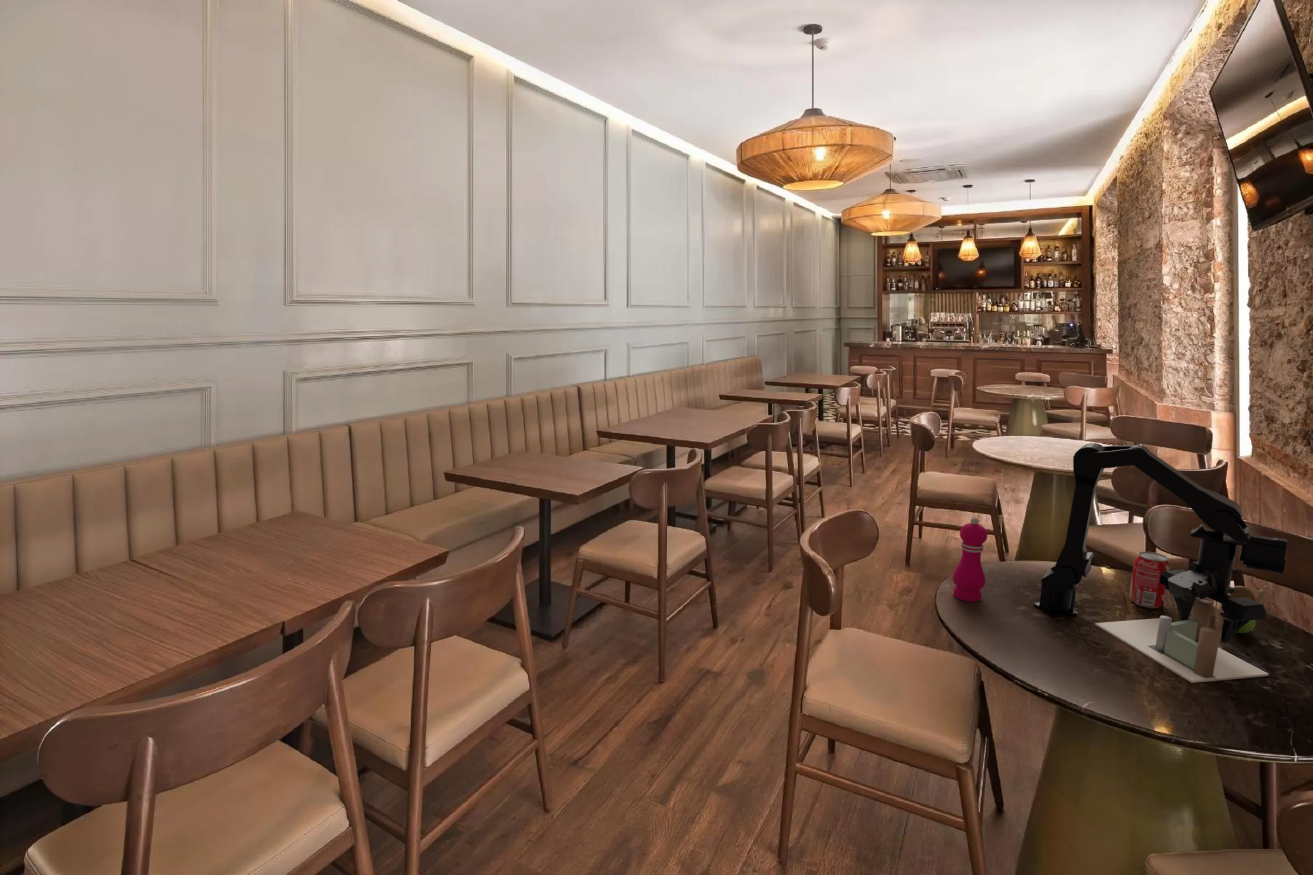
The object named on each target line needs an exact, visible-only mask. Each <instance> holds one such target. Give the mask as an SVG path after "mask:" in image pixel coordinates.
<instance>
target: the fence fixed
mask: <svg viewBox="0 0 1313 875" xmlns="http://www.w3.org/2000/svg"><path fill="white" fill-rule="evenodd" d="M1159 618H1160V620H1159V626H1158V633H1157V639H1156V645H1155V648H1156V649H1157V650H1160V651H1164V653H1166V654H1168V655H1170V656H1171V657H1173V658H1175V659H1176V660H1178V661H1180V662H1182V663H1183V664H1185V665H1187V666H1189V667H1190V668H1192V669H1194V670H1193V672H1194V673H1195V674H1197V675H1199V676H1202V677H1203V676H1204V677H1213V673H1214V667H1215V662H1216V656H1217V651H1218V648H1219V644H1220V640H1221V634H1222V631H1220V630H1218V629H1216V628H1213V627H1210V626H1209V627H1201V630H1200V635H1199V641H1198V643H1197V642H1195V641H1193V640H1191V639H1189V638H1187V637H1186V636H1184V635H1182V634H1180V633H1178V632H1176V631H1174V630H1170V629H1171V623H1172V621H1173V618H1172V617H1170V616H1168V615H1160V616H1159Z"/></svg>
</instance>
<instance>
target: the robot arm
mask: <svg viewBox="0 0 1313 875" xmlns="http://www.w3.org/2000/svg"><path fill="white" fill-rule="evenodd" d="M1072 457H1073V458H1072V462H1073V463H1072V466H1073V467H1072V468H1073V469H1072V470H1073V472H1072V473H1073V477H1074V478H1073V479H1074V491H1073V496H1072V502H1071V509H1070V514H1069V518H1068V519H1069V520H1068V525H1067V530H1066V535H1065V536H1066V537H1065V543H1064V545H1063V547H1062V549H1061V551H1060V554H1059V556H1058V558H1057V560H1056V563H1055V565H1054V566H1052V567H1050V568H1049V569H1048V571H1046V573H1045V574H1044V575H1043V577H1042V578H1041V580H1040V581H1041V586H1040V587H1041V588H1040V596H1039V602H1038V601H1037V602H1034V604H1033V605H1034V606H1035V607H1037V608H1038V609H1040V610H1042V611H1043V612H1045V613H1046V614H1048V615H1049V616H1051V617H1064V616H1067V617H1068V616H1076V615H1078V611H1076V610H1074V609H1075V603H1076V595H1077V592H1076V585H1078V584H1080V583H1081V582H1082V581H1083V578H1086V577H1087V576H1088V575H1089V573H1090V571H1091V570H1092V564H1091V561H1092V559H1093V557H1094V552H1090V551H1087V539H1088V533H1089V528H1090V523H1091V517H1092V511H1093V507H1094V506H1093V505H1094V501H1095V496H1096V491H1097V490H1096V489H1097V485H1098V483H1099V481H1100V479H1101V478H1102V474H1103V473H1104V470H1105V469H1112V468H1121V467H1122V468H1123V467H1130V466H1131V467H1132V466H1133V467H1135V468H1137V469H1138V470H1140V472H1142V473H1143V474H1145V475H1147V476H1148V477H1149V478H1151V479H1152V480H1154V481H1155V482H1157V483H1158V484H1159V485H1160V486H1162V487H1163V488H1165V489H1166V490H1168V491H1169V492H1171V494H1173V495H1175V496H1176V497H1177V498H1179V499H1181V500H1182V501H1183V502H1184V503H1186V504H1187V505H1188V506H1189V507H1190V509H1191V510H1192V511H1193V513H1194V514H1195V515H1196V516H1197V517H1198V518H1199V519H1200V520H1201V521H1202V522H1203V523H1204V524H1205V525H1206V526H1207V527H1208V528H1207V527H1206V526H1205V525H1204V524H1203V523H1201V524H1200V525H1198V527H1195V528H1193V529H1191V530H1190V535H1189V536H1190V537H1192V538H1196V539H1200V543H1199V550H1198V556H1197V561H1192V562H1191V564H1190V566H1189V569H1188V570H1184V569H1173V570H1171V569H1170V570H1168V571H1164V572H1163V573H1162V574H1161V575H1160V581H1159V583H1161V584H1163V585H1165V586H1164V588H1165V589H1167V592H1169V593H1170V594H1171V595H1172V597H1173V598H1174V601H1175V602H1174V603H1175V604H1176V608H1177V612H1178V616H1179V621H1184V620H1189V617H1190V615H1191V612H1192V611H1193V607H1194V601H1195V599H1204V600H1205V599H1206V598H1209V599H1210V600H1213V601H1215V602H1217V603H1219V604H1221V609H1222V611H1223V612H1219V615H1220V617H1221V618H1222V620H1223V619H1224V621H1222V623H1223V624H1222V628H1221V634H1220V642H1221V643H1222V644H1227V643H1228V642H1230V641H1231V639H1233V637H1234V636H1235V635H1236V634H1238V633H1237V632H1238V631H1239V630H1240V629H1241V628H1242V627H1243V626H1244V625H1245V624H1247V623H1248V622H1249V621H1250V620H1255V621H1257V620H1264V619H1266V614H1267V608H1266V606H1265V605H1264V604H1263V603H1259V602H1256V601H1254V600H1252V599H1249V598H1247V597H1241V598H1232V597H1230V593H1234V590H1235V589H1234V588H1233V586H1232V587H1231V583H1232V582H1231V581H1232V576H1233V575H1238V572H1239V569H1238V568H1235V567H1234V566H1235V558H1236V553H1237V548H1238V546H1241V547H1240V552H1239V557H1238V558H1239V559H1238V561H1239V562H1242V565H1244V566H1245V567H1244V568H1247V569H1252V570H1258V571H1262V572H1266V573H1267V572H1268V573H1273V574H1278V575H1283V574H1284V571H1285V566H1286V561H1287V559H1286V558H1287V557H1286V552H1287V546H1288V540H1287V539H1286V538H1283V537H1282V538H1281V537H1269V536H1264V535H1258V534H1252V530H1251V529H1250V527H1249V526H1248V524H1246V522H1245V521H1244V520H1243V508H1242V507H1241V506H1240V504H1239V503H1237V502H1236V501H1234V500H1232V499H1231V498H1229V497H1227V496H1224V495H1222V494H1220V493H1218V492H1216V491H1213V490H1210V489H1207V488H1206V487H1203V486H1201V485H1199V484H1198V483H1196V482H1195V481H1194V480H1192V479H1191V478H1189V477H1188V476H1186V475H1185V474H1184V473H1182V472H1180V471H1179V470H1178V469H1176V468H1174V466H1172V465H1170V463H1167V462H1166V461H1164V460H1163V459H1162V458H1160V457H1159V456H1158V455H1156V454H1155V453H1153V452H1151V451H1150V450H1149V448H1148V447H1147V446H1145V445H1143V444H1134V445H1102V444H1101V443H1100V444H1099V443H1097V442H1090V443H1089V442H1088V443H1086V444H1084V445H1083V446H1082V447H1080V448H1079V449H1078V450H1077V451H1076V452H1075V453H1074V454H1073V456H1072Z"/></svg>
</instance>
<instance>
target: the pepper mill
mask: <svg viewBox="0 0 1313 875" xmlns="http://www.w3.org/2000/svg"><path fill="white" fill-rule="evenodd" d="M979 523H980V520H979V519H978V517H972V518H971V519H970V523H966V524H964V525H962V526H961V528H960V530H959V537H960V539H961V542H960V544H961V545H960V549H961V553H962V554H961V558H960V561H959V562H958V564H957V566H956V567H955V569H954V572H953V574H952V582H953V584H954V585H955V586H954V587H953V592H952V594H953V596H954V598H956V599H958V600H961V601H964V602H969V603H970V602H971V603H972V602H974V603H976V602H979V601H981V599H982V596H983V595H982V594H983V591H982V589H983V588H984V587H985V585H986V575H985V573H984V569H983V567H982V566H983V565H982V562H981V556H982V552H984V548H985V545H984V544H985V542H987V539H988V531H987V529H986V528H985V527H984V526H983V525H981V524H979Z"/></svg>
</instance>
